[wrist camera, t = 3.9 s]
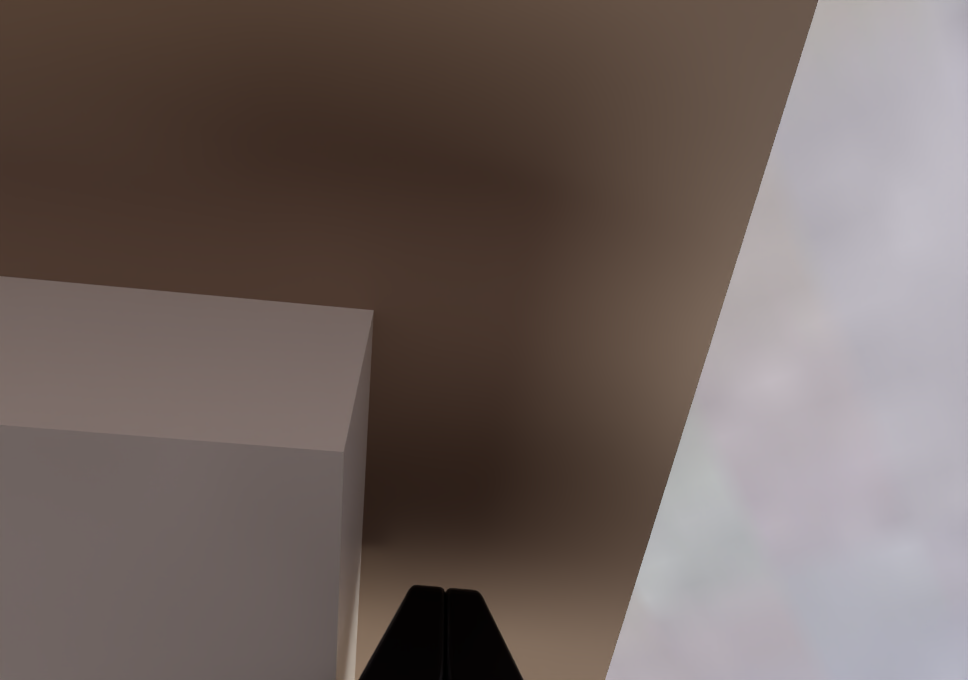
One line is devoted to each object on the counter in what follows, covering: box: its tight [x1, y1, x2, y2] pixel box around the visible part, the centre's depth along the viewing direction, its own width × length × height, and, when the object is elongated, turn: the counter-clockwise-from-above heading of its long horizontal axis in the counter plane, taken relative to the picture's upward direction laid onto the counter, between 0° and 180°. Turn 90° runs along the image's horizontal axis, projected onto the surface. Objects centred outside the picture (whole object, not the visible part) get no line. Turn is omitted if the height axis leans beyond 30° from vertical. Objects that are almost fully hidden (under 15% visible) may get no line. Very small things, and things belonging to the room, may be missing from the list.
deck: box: [0, 0, 818, 680], centre depth 12 cm, size 18×12×4 cm, turn 173°
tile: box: [0, 276, 374, 680], centre depth 9 cm, size 7×6×2 cm
